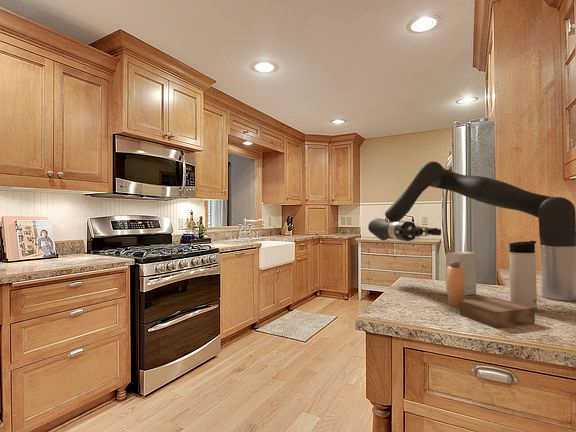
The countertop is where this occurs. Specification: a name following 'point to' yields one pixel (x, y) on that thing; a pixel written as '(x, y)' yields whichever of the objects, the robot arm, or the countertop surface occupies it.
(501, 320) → the walnut plinth
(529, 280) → the travel mug
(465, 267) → the skincare box
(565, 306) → the countertop surface
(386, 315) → the countertop surface
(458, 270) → the orange bottle
